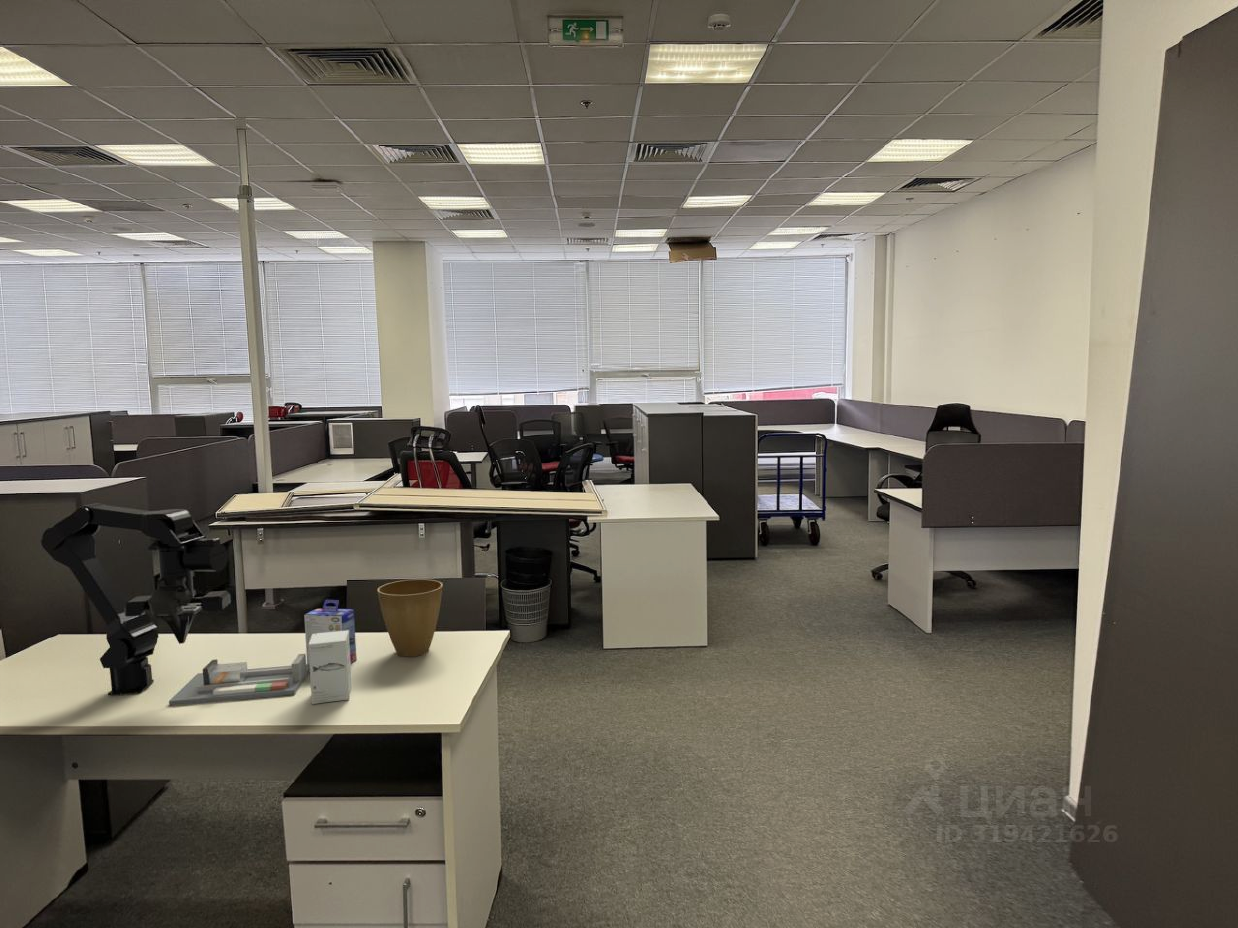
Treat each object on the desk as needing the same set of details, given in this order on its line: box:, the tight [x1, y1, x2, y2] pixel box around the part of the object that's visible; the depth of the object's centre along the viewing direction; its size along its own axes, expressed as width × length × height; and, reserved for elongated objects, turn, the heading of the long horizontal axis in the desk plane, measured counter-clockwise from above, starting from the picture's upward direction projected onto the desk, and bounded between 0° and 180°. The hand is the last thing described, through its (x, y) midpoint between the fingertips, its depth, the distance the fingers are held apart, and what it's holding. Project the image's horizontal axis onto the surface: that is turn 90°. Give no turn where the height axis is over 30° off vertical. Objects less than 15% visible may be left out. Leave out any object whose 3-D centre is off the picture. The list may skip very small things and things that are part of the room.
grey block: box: [202, 659, 249, 685], centre depth 157 cm, size 7×10×4 cm
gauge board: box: [168, 653, 310, 707], centre depth 160 cm, size 24×15×5 cm, turn 100°
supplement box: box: [309, 630, 352, 705], centre depth 153 cm, size 7×7×13 cm
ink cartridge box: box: [303, 599, 357, 664], centre depth 172 cm, size 10×6×14 cm, turn 78°
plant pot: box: [377, 578, 444, 658], centre depth 177 cm, size 15×15×16 cm
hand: (182, 642), depth 157 cm, fingers closed
